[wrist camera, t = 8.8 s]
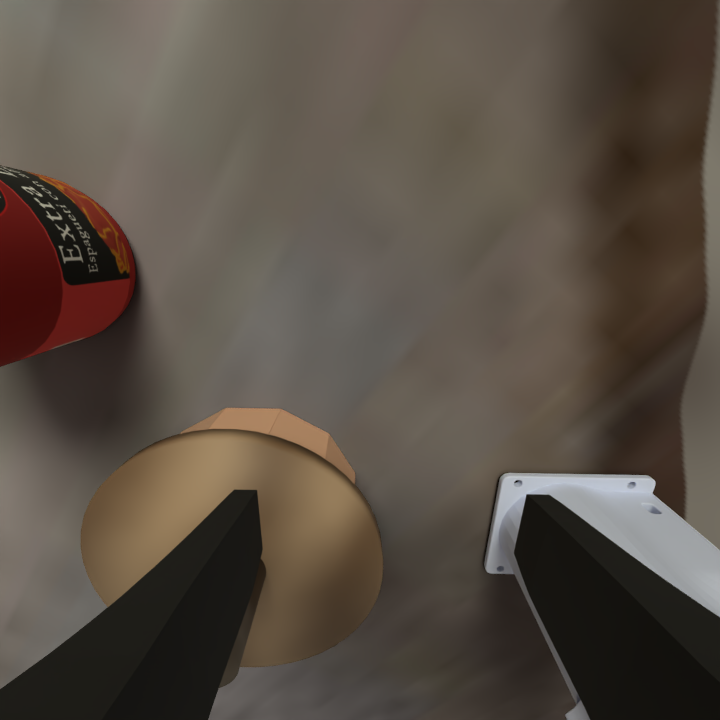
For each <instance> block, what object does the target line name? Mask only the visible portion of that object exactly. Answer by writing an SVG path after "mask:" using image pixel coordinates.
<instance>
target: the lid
mask: <svg viewBox="0 0 720 720" xmlns="http://www.w3.org/2000/svg"><path fill="white" fill-rule="evenodd" d="M234 489H235V490H257V493H258V504H259V514H260V525H261V535H262V545H263V551H262V555H261V559H260V563H259V568H258V572H257V576H256V580H255V584H254V588H253V592H252V595H251V598H250V601H249V603H248V606H247V609H246V612H245V615H244V618H243V621H242V623H241V626H240V629H239V632H238V635H237V638H236V640H235V643H234V646H233V649H232V652H231V655H230V657H229V660H228V663H227V666H226V669H225V672H224V674H223V677H222V680H221V683H220V686H219V688H220V687H223V686H225V685H227V684H229V683H230V682H232V681H233V680H234V679H235V677H236V676H237V674H238V671H239V667H265V666H276V665H281V664H287V663H292V662H296V661H299V660H303V659H306V658H309V657H312V656H314V655H317V654H319V653H322V652H324V651H326V650H327V649H329V648H331V647H333V646H335V645H336V644H338V643H339V642H341V641H342V640H344V639H345V638H347V637H348V636H349V635H350V634H351V633H352V632H354V631H355V630H356V629H357V628H358V627H359V626H360V624H361V623H362V622H363V621H364V620H365V619H366V617H367V616H368V614H369V613H370V611H371V609H372V608H373V606H374V604H375V602H376V599H377V597H378V594H379V592H380V587H381V583H382V578H383V556H382V544H381V536H380V531H379V528H378V524H377V521H376V518H375V516H374V514H373V512H372V509H371V507H370V505H369V503H368V502H367V500H366V499H365V497H364V496H363V495H362V493H361V492H360V490H359V489H358V488H357V487H356V486H355V484H354V483H353V482H352V481H351V480H350V479H349V478H348V477H347V476H346V475H345V474H344V473H343V472H341V471H340V470H339V469H338V468H337V467H336V466H334V465H333V464H332V463H330V462H329V461H327V460H326V459H324V458H323V457H321V456H320V455H318V454H317V453H315V452H313V451H311V450H309V449H307V448H305V447H303V446H301V445H299V444H296V443H294V442H291V441H288V440H285V439H283V438H280V437H277V436H273V435H269V434H264V433H260V432H256V431H248V430H240V429H206V430H197V431H191V432H186V433H182V434H178V435H174V436H171V437H168V438H166V439H163V440H160V441H158V442H155V443H153V444H152V445H150V446H148V447H146V448H144V449H142V450H141V451H139V452H138V453H136V454H135V455H134V456H132V457H131V458H130V459H129V460H127V461H126V462H125V463H124V464H123V465H121V466H120V467H119V468H118V469H117V470H116V471H115V472H114V473H113V474H112V475H110V477H109V478H108V479H107V480H106V481H105V482H104V483H103V484H102V485H101V486H100V487H99V488H98V490H97V492H96V493H95V495H94V496H93V498H92V499H91V501H90V503H89V505H88V508H87V510H86V512H85V515H84V518H83V523H82V528H81V552H82V558H83V563H84V566H85V569H86V572H87V575H88V577H89V579H90V581H91V583H92V585H93V587H94V589H95V590H96V592H97V593H98V595H99V596H100V598H101V599H102V600H103V602H104V603H105V604H106V605H107V607H109V606H110V605H111V604H112V603H114V602H115V601H116V600H117V599H118V598H119V597H121V596H122V595H123V594H124V593H125V592H126V591H128V590H129V589H130V588H131V587H132V586H133V585H134V584H135V583H137V582H138V581H139V580H140V579H141V578H142V577H143V576H144V575H146V574H147V573H148V572H149V571H150V570H151V569H152V568H153V567H155V566H156V565H157V564H158V563H159V562H160V561H161V560H162V559H163V558H164V557H165V556H167V555H168V554H169V553H170V552H171V551H172V550H173V549H174V548H175V547H176V546H177V545H178V544H179V543H180V542H181V541H182V540H183V539H184V538H185V537H186V536H188V535H189V534H190V533H191V532H192V531H193V530H194V529H195V528H196V527H197V526H198V525H199V524H200V523H201V522H202V521H203V520H204V519H205V518H206V517H207V516H208V515H209V514H210V513H211V512H212V511H213V510H214V509H215V508H216V507H217V506H218V505H219V504H220V503H221V502H222V501H223V500H224V499H225V498H226V497H227V496H228V495H229V494H230V493H231V492H232V491H233V490H234Z"/></svg>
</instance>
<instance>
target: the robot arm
mask: <svg viewBox="0 0 720 720" xmlns="http://www.w3.org/2000/svg"><path fill="white" fill-rule="evenodd" d="M516 480H519V481H518V482H516V483H514V482H515V481H516ZM654 487H655V480H653V479H652V478H651V477H649V476H647V475H602V474H542V473H505V474H503V475H502V476H501V477H500V480H499V485H498V491H497V496H496V502H495V507H494V512H493V518H492V523H491V529H490V534H489V540H488V545H487V551H486V556H485V561H484V567H485V570H486V571H487V572H488V573H491V574H515V576H516V578H517V581H518V583H519V585H520V587H521V589H522V591H523V593H524V595H525V597H526V600H527V602H528V604H529V606H530V608H531V610H532V612H533V614H534V616H535V619H536V621H537V623H538V625H539V627H540V629H541V631H542V633H543V635H544V638H545V640H546V642H547V644H548V646H549V648H550V650H551V652H552V654H553V657H554V659H555V661H556V663H557V665H558V667H559V669H560V671H561V673H562V676H563V678H564V680H565V682H566V684H567V686H568V688H569V690H570V692H571V695H572V697H573V699H574V701H575V703H576V706H575V707H574V708H573V709H572V710H570V711H569V712H567V713H566V715H565V717H566V719H567V720H720V550H719V549H718V548H717V547H715V546H714V545H713V544H712V543H711V542H709V541H708V540H707V539H706V538H705V537H703V536H702V535H701V534H700V533H699V532H698V531H696V530H695V529H694V528H693V527H692V526H690V525H689V524H688V523H687V522H686V521H684V520H683V519H682V518H681V517H680V516H678V515H677V514H676V513H675V512H674V511H672V510H671V509H670V508H669V507H668V506H667V505H665V504H664V503H663V502H662V501H661V500H659V499H658V498H657V497H656V496H655V495H653V494H652V493H653V490H654ZM262 551H263V545H262V535H261V525H260V514H259V504H258V493H257V490H235V489H234V490H233V491H232V492H231V493H230V494H229V495H228V496H227V497H226V498H225V499H224V500H223V501H222V502H221V503H220V504H219V505H218V506H217V507H216V508H215V509H214V510H213V511H212V512H211V513H210V514H209V515H208V516H207V517H206V518H205V519H204V520H203V521H202V522H201V523H200V524H199V525H198V526H197V527H196V528H195V529H194V530H193V531H192V532H191V533H190V534H189V535H188V536H186V537H185V538H184V539H183V540H182V541H181V542H180V543H179V544H178V545H177V546H176V547H175V548H174V549H173V550H172V551H171V552H170V553H169V554H168V555H167V556H165V557H164V558H163V559H162V560H161V561H160V562H159V563H158V564H157V565H156V566H155V567H153V568H152V569H151V570H150V571H149V572H148V573H147V574H146V575H144V576H143V577H142V578H141V579H140V580H139V581H138V582H137V583H135V584H134V585H133V586H132V587H131V588H130V589H129V590H128V591H126V592H125V593H124V594H123V595H122V596H121V597H119V598H118V599H117V600H116V601H115V602H114V603H112V604H111V605H110V606H109V607H108V608H106V609H105V610H104V611H103V612H102V613H100V614H99V615H98V616H97V617H96V618H94V619H93V620H92V621H91V622H89V623H88V624H87V625H86V626H84V627H83V628H82V629H80V630H79V631H78V632H77V633H75V634H74V635H73V636H72V637H70V638H69V639H68V640H67V641H65V642H64V643H63V644H61V645H60V646H59V647H57V648H56V649H55V650H54V651H52V652H51V653H50V654H48V655H47V656H46V657H44V658H43V659H41V660H40V661H39V662H37V663H36V664H35V665H33V666H32V667H30V668H29V669H28V670H26V671H25V672H23V673H22V674H21V675H19V676H18V677H17V678H15V679H14V680H12V681H11V682H10V683H8V684H7V685H6V686H4V687H3V688H1V689H0V720H208V718H209V715H210V712H211V709H212V706H213V703H214V700H215V697H216V694H217V691H218V688H219V686H220V683H221V680H222V677H223V674H224V672H225V669H226V666H227V663H228V660H229V657H230V655H231V652H232V649H233V646H234V643H235V640H236V638H237V635H238V632H239V629H240V626H241V623H242V621H243V618H244V615H245V612H246V609H247V606H248V603H249V601H250V598H251V595H252V592H253V588H254V584H255V580H256V576H257V572H258V568H259V563H260V559H261V555H262Z"/></svg>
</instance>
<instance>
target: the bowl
mask: <svg viewBox="0 0 720 720" xmlns="http://www.w3.org/2000/svg"><path fill="white" fill-rule="evenodd" d="M206 429H240V430H248V431H256V432H260V433H264V434H269V435H273V436H277V437H280V438H283V439H285V440H288V441H291V442H294V443H296V444H299V445H301V446H303V447H305V448H307V449H309V450H311V451H313V452H315V453H317V454H318V455H320V456H321V457H323V458H324V459H326V460H327V461H329V462H330V463H332V464H333V465H334V466H336V467H337V468H338V469H339V470H340V471H341V472H343V473H344V474H345V475H346V476H347V477H348V478H349V479H350V480H351V481H352V482H353V483H354V484H355V472H354V471H353V469H352V468H351V466H350V465H349V463H348V462H347V460H346V458H345V457H344V455H343V454H342V452H341V451H340V449H339V448H338V446H337V445H336V443H335V442H334V440H333V439H332V437H331V436H330V434H329V433H327V432H325V431H323V430H321V429H319V428H317V427H315V426H313V425H311V424H309V423H307V422H306V421H304V420H302V419H300V418H298V417H296V416H294V415H292V414H290V413H288V412H286V411H284V410H283V409H262V408H225V409H223V410H221V411H219V412H217V413H216V414H214V415H212V416H210V417H208V418H206V419H204V420H202V421H201V422H199V423H197V424H195V425H193V426H191V427H189V428H188V429H186V430H184V431H182V432H181V433H180V434H182V433H186V432H191V431H197V430H206Z"/></svg>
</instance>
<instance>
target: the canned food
mask: <svg viewBox="0 0 720 720" xmlns="http://www.w3.org/2000/svg"><path fill="white" fill-rule="evenodd" d="M134 285H135V264H134V259H133V255H132V251H131V248H130V246H129V244H128V241H127V239H126V236H125V235H124V233H123V232H122V230H121V229H120V227H119V225H118V224H117V222H116V221H115V220H114V219H113V218H112V217H111V216H110V214H109V213H108V212H107V211H106V210H105V209H104V208H103V207H101V206H100V205H99V204H98V203H96V202H95V201H94V200H93V199H91V198H90V197H88V196H86V195H85V194H83V193H82V192H80V191H78V190H76V189H75V188H73V187H71V186H69V185H68V184H66V183H64V182H61V181H58V180H56V179H53V178H50V177H47V176H43V175H39V174H35V173H30V172H26V171H22V170H18V169H13V168H9V167H5V166H1V165H0V367H1V366H4V365H7V364H10V363H13V362H16V361H19V360H22V359H25V358H28V357H31V356H34V355H37V354H40V353H43V352H46V351H49V350H52V349H55V348H58V347H61V346H64V345H67V344H70V343H73V342H76V341H79V340H82V339H85V338H88V337H91V336H93V335H95V334H97V333H99V332H101V331H103V330H104V329H105V328H107V327H108V326H109V325H110V324H111V323H112V322H114V321H115V320H116V319H117V318H118V317H119V316H120V315H121V314H122V313H123V311H124V310H125V309H126V307H127V306H128V304H129V302H130V299H131V297H132V295H133V291H134Z"/></svg>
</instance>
